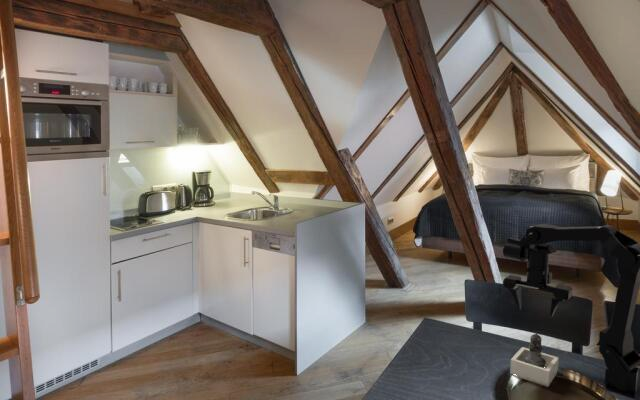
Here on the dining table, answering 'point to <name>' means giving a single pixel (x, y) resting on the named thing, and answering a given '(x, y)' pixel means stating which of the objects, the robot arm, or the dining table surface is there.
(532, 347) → the dark grey tall piece
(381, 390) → the dining table surface
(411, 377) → the dining table surface
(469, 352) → the dining table surface
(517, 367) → the box
